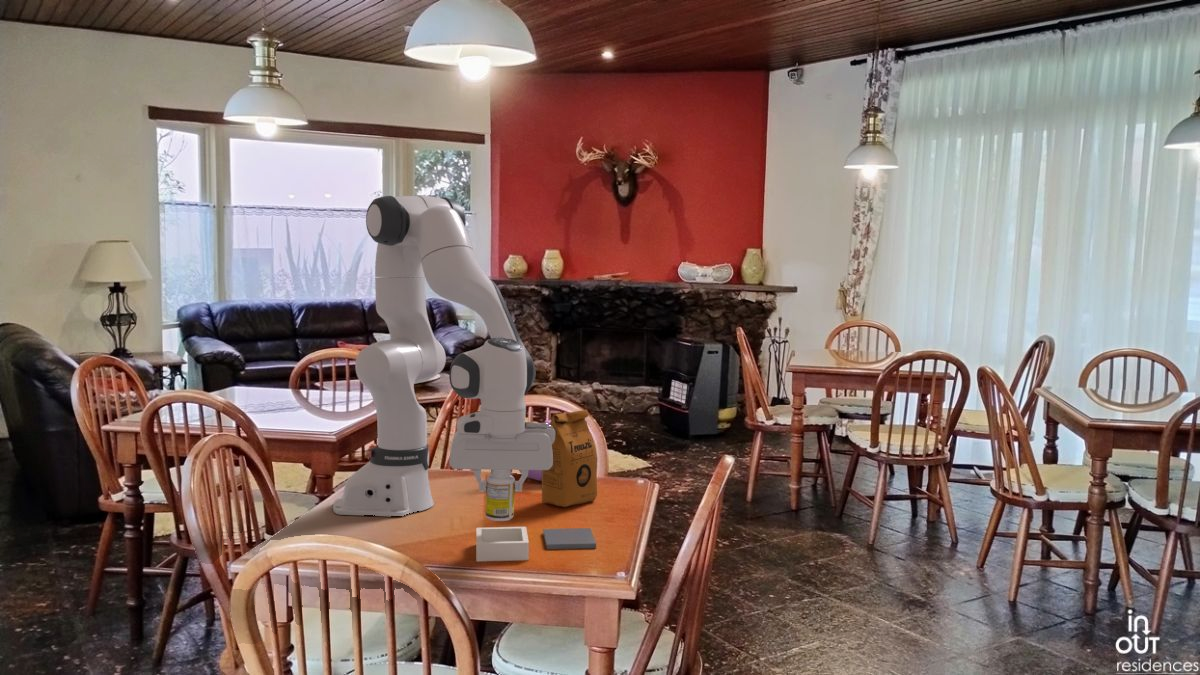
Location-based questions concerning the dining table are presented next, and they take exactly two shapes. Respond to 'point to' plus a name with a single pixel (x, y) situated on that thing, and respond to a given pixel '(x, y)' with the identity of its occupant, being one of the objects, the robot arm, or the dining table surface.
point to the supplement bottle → (500, 495)
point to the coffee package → (571, 462)
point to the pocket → (502, 544)
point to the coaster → (569, 538)
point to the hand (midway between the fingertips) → (500, 490)
